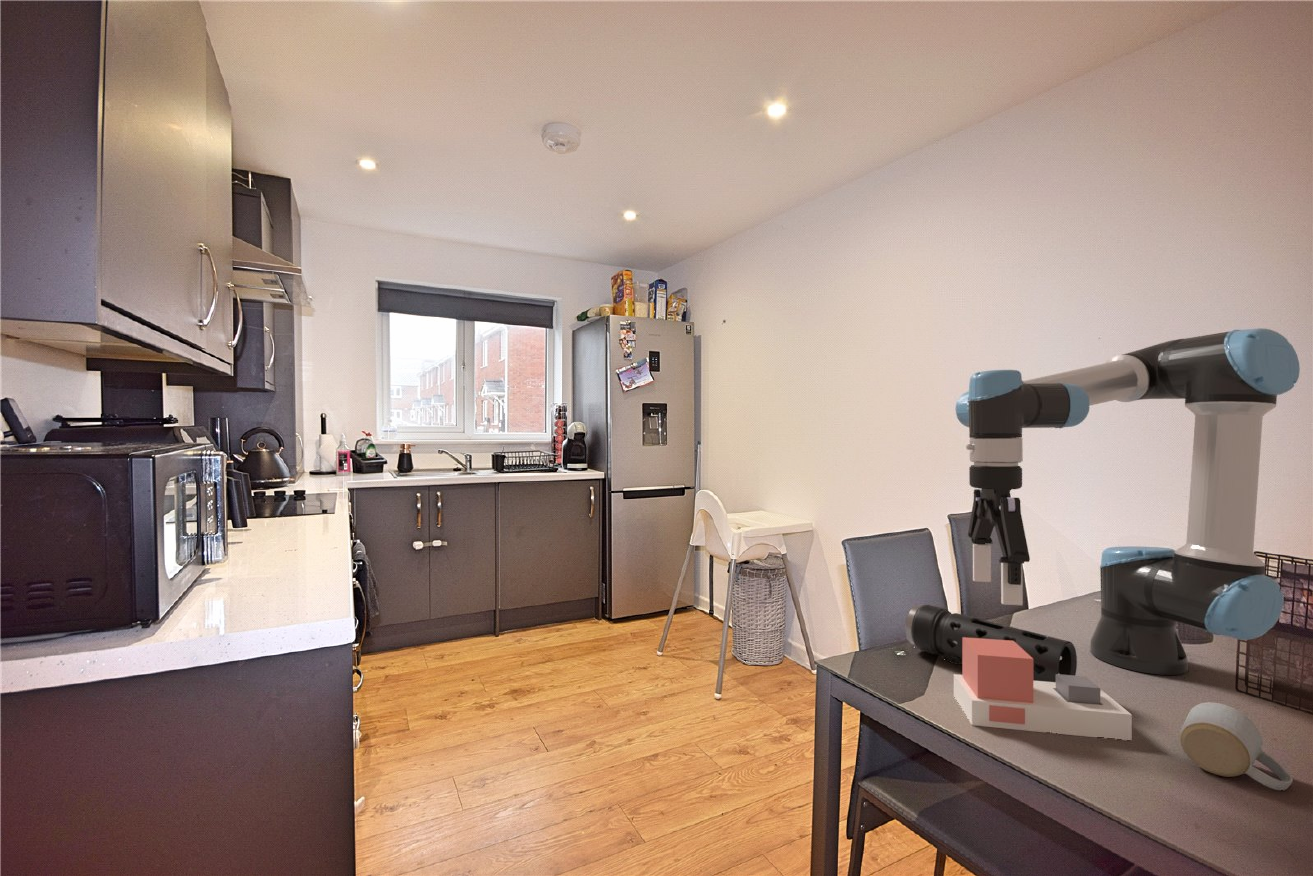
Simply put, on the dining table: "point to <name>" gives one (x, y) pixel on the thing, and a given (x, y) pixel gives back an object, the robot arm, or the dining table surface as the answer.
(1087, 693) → the button plain
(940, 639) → the muzzle brake
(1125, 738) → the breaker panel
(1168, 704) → the dining table surface
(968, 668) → the salmon red cube
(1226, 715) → the ceramic mug
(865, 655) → the dining table surface
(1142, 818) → the dining table surface
